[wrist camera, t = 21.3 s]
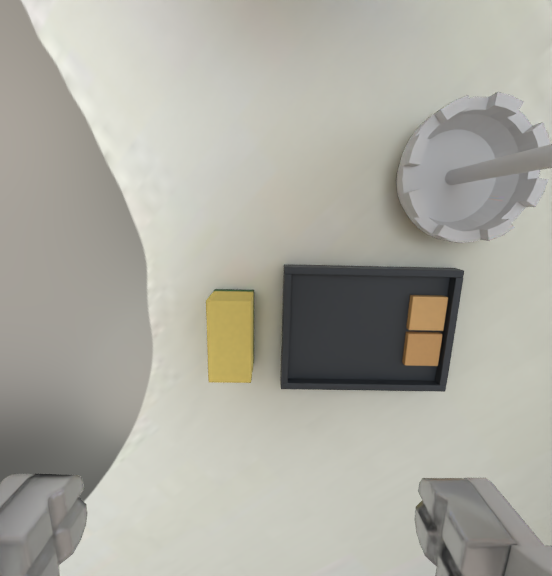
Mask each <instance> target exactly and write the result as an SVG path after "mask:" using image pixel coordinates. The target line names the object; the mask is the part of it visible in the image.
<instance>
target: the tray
mask: <svg viewBox="0 0 552 576" xmlns="http://www.w3.org/2000/svg"><path fill="white" fill-rule="evenodd" d="M463 275H464V271H463V270H460V269H456V268H426V267H378V266H331V265H284V280H283V315H282V349H281V389H322V390H387V391H445V389H446V384H447V378H448V371H449V365H450V359H451V352H452V346H453V340H454V333H455V327H456V321H457V314H458V308H459V302H460V295H461V289H462V282H463ZM410 295H439V296H446V297H448V302H447V309H446V316H445V322H444V329H443V331H432V330H408V329H407V328H406V326H407V318H408V310H409V302H410ZM406 332H440V333H441V334H442V342H441V348H440V355H439V362H438V366H409V365H404V364H403V363H402V360H403V352H404V343H405V335H406Z"/></svg>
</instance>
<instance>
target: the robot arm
mask: <svg viewBox="0 0 552 576" xmlns="http://www.w3.org/2000/svg"><path fill="white" fill-rule="evenodd" d="M83 490H84V486H83V480H82V477H80V476H77V475H56V474H13V475H10V476H8V477H6V478H5V479H4V480H3V481H2V482H1V483H0V576H60V575H59V565H60V564H61V563H62V562H63V561H65V560H66V559H67V558H68V557H70V556H71V555H72V554H73V553H74V551H75V549H76V547H77V546H78V544H79V542H80V540H81V538H82V535H83V532H84V529H85V526H86V520H87V507H86V504H85V503H84V502H83V501H82V500H81V498H79V496H80V494H81V493H82V491H83ZM418 492H419V494H420V496H421V498H422V501H421V502H420V503H419V504H418V505H417V506H416V510H415V526H416V533H417V536H418V539H419V543H420V545H421V548H422V550H423V552H424V555H425V556H426V557H427V558H428V559H429V560H430V561H431V562H432V563H433V564H435V565H436V566H437V568H436V575H435V576H552V546H545V545H544V544H543V543H542V542H541V541H540V539H539V538H538V537H537V536H536V535H535V533H534V532H533V531H532V530H531V529H530V527H529V526H528V525H527V524H526V523H525V521H524V520H523V519H522V518H521V517H520V515H519V514H518V513H517V512H516V511H515V509H514V508H513V507H512V506H511V505H510V503H509V502H508V501H507V500H506V499H505V497H504V496H503V495H502V494H501V493H500V491H499V490H498V489H497V488H496V487H495V485H494V484H493V483H492V482H491V481H489V480H488V479H486V478H422V480H421V481H420V483H419V489H418Z"/></svg>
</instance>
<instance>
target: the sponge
mask: <svg viewBox="0 0 552 576" xmlns="http://www.w3.org/2000/svg"><path fill="white" fill-rule="evenodd" d="M206 316H207V347H208V378H209V382H234V383H251V378H252V370H253V363H254V290H224V289H215V290H214V291H213V293H212V294H211V295H210V297H209V298H208V299H207V300H206Z"/></svg>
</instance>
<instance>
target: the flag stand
mask: <svg viewBox="0 0 552 576" xmlns="http://www.w3.org/2000/svg"><path fill="white" fill-rule="evenodd" d="M523 103H524V101H522V100H520V99H518V98H516V97H514V96H512V95H509V94H505V93H501V92H497V93H495V94H493V95H491V96H489V97H470V98H469V96H468V95H466V96H464V97H462V98H459V99H457V100H455V101H453V102H451V103H450V104H448V105H447V106H445V107H443V108H442V109H440V110H439V111H437V112H436V113H434V114H433V115H431V116H430V117H428V118H427V119H426V120H425V121H424V122H423V123H422V124H421V125H420V126H419V127H418V128H417V129H416V131H415V132H414V134H413V135H412V136H411V138H410V139H409V141H408V143H407V145H406V147H405V149H404V151H403V154H402V157H401V161H400V164H399V168H398V172H397V181H396V185H397V194H398V197H399V200H400V203H401V205H402V207H403V209H404V211H405V212H406V213H407V215H408V217H409V218H410V220H411V221H412V222H413V223H414V224H415V225H416V226H417V227H418V228H419V229H420V230H422V231H423V232H425V233H426V234H428V235H430V236H432V237H434V238H437V239H441V240H445V241H451V242H458V243H462V242H472V241H478V240H487V241H490V240H492V239H495V238H497V237H500V236H502V235H504V234H506V233H507V232H509V231H511V230H512V229H514V226H513V225H512V222H513V221H514V220H515V219H516V218H517V217H518V216H519V215H520V214H521V212H522V211H523V210H524V209H525V208H526V207H536V205H537V203H538V202H539V200H540V198H541V196H542V195H543V193H544V190H545V187H546V185H547V182H548V179H542V178H539V174H540V170H541V169H547V168H552V144H550V140H549V135H548V133H547V130H546V128H545V126H544V123H543V122H542V123H539V124H536V125H533V126H532V124H531V123H530V122H529V120H528V119H527V117H526V116H525V115H524V114H523V113H522V112H521V111H520V110H519V109H520V107H521V106H522V104H523Z"/></svg>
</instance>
